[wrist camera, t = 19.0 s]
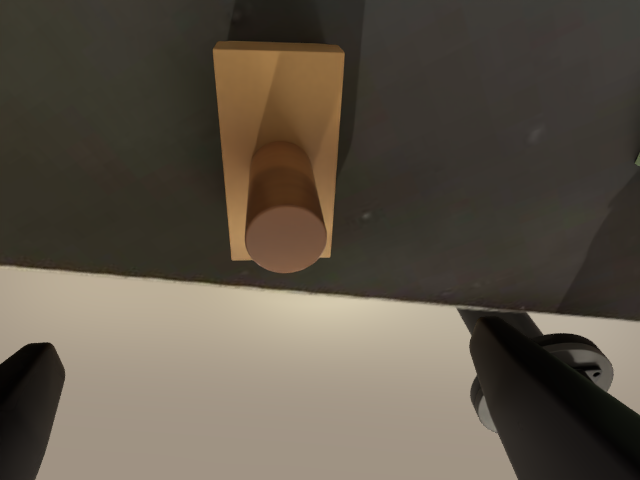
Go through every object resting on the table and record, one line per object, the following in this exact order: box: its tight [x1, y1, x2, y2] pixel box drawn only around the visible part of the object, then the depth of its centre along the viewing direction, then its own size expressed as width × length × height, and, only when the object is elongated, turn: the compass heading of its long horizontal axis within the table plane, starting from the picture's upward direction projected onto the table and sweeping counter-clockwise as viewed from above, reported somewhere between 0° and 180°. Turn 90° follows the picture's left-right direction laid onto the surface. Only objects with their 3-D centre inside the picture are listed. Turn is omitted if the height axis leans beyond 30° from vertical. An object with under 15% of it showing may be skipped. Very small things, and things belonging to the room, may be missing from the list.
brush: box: [213, 41, 345, 273], centre depth 15 cm, size 9×4×8 cm, turn 177°
